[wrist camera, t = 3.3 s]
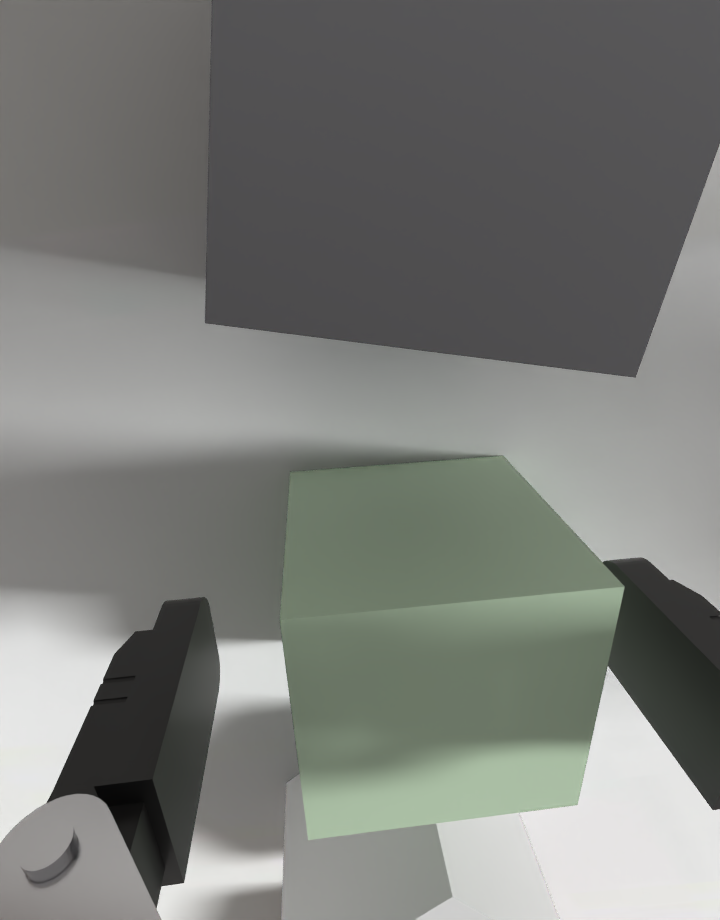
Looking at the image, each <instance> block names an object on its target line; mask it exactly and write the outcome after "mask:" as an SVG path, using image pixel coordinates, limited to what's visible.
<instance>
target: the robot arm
mask: <svg viewBox="0 0 720 920" xmlns="http://www.w3.org/2000/svg"><path fill="white" fill-rule="evenodd" d="M603 564H604V565H605V566H606V567H607V568H608V569H609V570H610V571H611V572H612V574H613V575H614V576H615V577H616V578H617V579H618V580H619V581H620V582H621V583H622V584H623V585H624V586H625V588H624V592H623V597H622V602H621V606H620V611H619V615H618V620H617V625H616V629H615V634H614V638H613V643H612V648H611V652H610V657H609V661H608V666H609V668H610V669H611V671H612V672H613V673H614V675H615V676H616V677H617V679H618V680H619V682H620V683H621V684H622V686H623V687H624V688H625V690H626V691H627V693H628V694H629V695H630V697H631V698H632V700H633V701H634V702H635V704H636V705H637V706H638V708H639V709H640V711H641V712H642V713H643V715H644V716H645V717H646V719H647V720H648V722H649V723H650V724H651V726H652V727H653V728H654V730H655V731H656V733H657V734H658V735H659V737H660V738H661V739H662V741H663V742H664V744H665V745H666V746H667V748H668V749H669V750H670V752H671V753H672V755H673V756H674V757H675V759H676V760H677V761H678V763H679V764H680V766H681V767H682V768H683V770H684V771H685V772H686V774H687V775H688V777H689V778H690V779H691V781H692V782H693V783H694V785H695V786H696V788H697V789H698V790H699V792H700V793H701V795H702V796H703V797H704V799H705V800H706V801H707V803H708V804H709V806H710V807H711V808H712V810H717V809H720V611H718V610H717V609H716V608H715V607H714V606H713V605H712V604H710V603H709V602H708V601H707V600H706V599H705V598H704V597H702V596H701V595H700V594H698V593H696V592H694V591H692V590H690V589H689V588H687V587H685V586H683V585H681V584H680V583H678V582H676V581H674V580H669V579H668V578H667V577H666V576H664V575H663V574H662V573H661V572H660V571H659V570H658V569H657V568H656V567H655V566H654V565H652V564H651V563H650V562H649V561H648V560H646V559H644V558H630V559H620V560H609V561H604V562H603ZM219 683H220V662H219V655H218V649H217V644H216V639H215V634H214V628H213V623H212V618H211V613H210V607H209V603H208V600H207V599H206V598H205V597H202V598H191V599H180V600H170V601H165V602H164V604H163V605H162V608H161V610H160V613H159V615H158V618H157V621H156V623H155V626H154V629H153V630H147V631H137V632H135V633H134V634H133V635H132V636H131V637H130V638H129V639H128V640H127V641H126V642H125V643H124V644H123V645H122V647H121V648H120V649H119V650H118V651H117V652H116V653H115V654H114V656H113V658H112V661H111V663H110V665H109V667H108V670H107V672H106V674H105V676H104V678H103V684H101V685H100V687H99V690H98V692H97V694H96V696H95V698H94V705H93V706H91V707H90V710H89V712H88V714H87V716H86V718H85V721H84V723H83V725H82V727H81V730H80V732H79V734H78V736H77V738H76V741H75V743H74V745H73V747H72V750H71V752H70V754H69V756H68V758H67V761H66V763H65V765H64V767H63V770H62V772H61V774H60V776H59V778H58V781H57V783H56V785H55V787H54V790H53V792H52V794H51V796H50V798H49V799H48V801H47V803H46V804H44V805H43V806H41V807H39V808H37V809H36V810H34V811H33V812H32V813H30V814H29V815H27V816H26V817H25V818H24V819H23V820H21V821H20V822H19V823H18V824H17V825H16V826H15V827H14V828H13V829H12V830H11V831H10V832H9V833H8V834H7V835H6V837H5V838H4V839H3V840H2V842H1V843H0V920H161V918H160V916H159V914H158V911H157V909H156V908H157V904H158V899H159V894H160V890H161V886H166V885H173V884H180V883H184V880H185V874H186V869H187V863H188V858H189V852H190V847H191V841H192V836H193V830H194V824H195V819H196V813H197V808H198V802H199V797H200V791H201V786H202V780H203V775H204V769H205V764H206V758H207V753H208V747H209V742H210V736H211V730H212V725H213V719H214V714H215V708H216V703H217V697H218V692H219Z"/></svg>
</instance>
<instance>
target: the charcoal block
mask: <svg viewBox="0 0 720 920" xmlns="http://www.w3.org/2000/svg"><path fill="white" fill-rule="evenodd" d="M719 144H720V0H212V27H211V73H210V119H209V166H208V212H207V258H206V304H205V323H208V324H216V325H224V326H232V327H240V328H248V329H256V330H264V331H271V332H279V333H287V334H295V335H303V336H311V337H319V338H327V339H335V340H343V341H351V342H358V343H366V344H374V345H382V346H390V347H398V348H406V349H414V350H422V351H430V352H438V353H446V354H453V355H461V356H469V357H477V358H485V359H493V360H501V361H509V362H517V363H525V364H533V365H540V366H548V367H556V368H564V369H572V370H580V371H588V372H596V373H604V374H612V375H620V376H628V377H636V375H637V372H638V369H639V366H640V363H641V361H642V358H643V355H644V352H645V350H646V347H647V344H648V341H649V338H650V336H651V333H652V330H653V327H654V325H655V322H656V319H657V316H658V313H659V311H660V308H661V305H662V302H663V300H664V297H665V294H666V291H667V288H668V286H669V283H670V280H671V277H672V275H673V272H674V269H675V266H676V263H677V261H678V258H679V255H680V252H681V250H682V247H683V244H684V241H685V238H686V236H687V233H688V230H689V227H690V225H691V222H692V219H693V216H694V213H695V211H696V208H697V205H698V202H699V200H700V197H701V194H702V191H703V188H704V186H705V183H706V180H707V177H708V175H709V172H710V169H711V166H712V163H713V161H714V158H715V155H716V152H717V150H718V147H719Z"/></svg>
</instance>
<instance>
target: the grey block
mask: <svg viewBox="0 0 720 920" xmlns="http://www.w3.org/2000/svg"><path fill="white" fill-rule="evenodd" d="M281 920H560V918H559V916H558V913H557V910H556V908H555V905H554V903H553V900H552V897H551V895H550V892H549V889H548V887H547V884H546V881H545V879H544V876H543V873H542V871H541V868H540V865H539V863H538V860H537V857H536V855H535V852H534V849H533V847H532V844H531V841H530V839H529V836H528V833H527V831H526V828H525V825H524V823H523V820H522V818H521V815H520V813H512V814H505V815H497V816H489V817H482V818H474V819H466V820H459V821H451V822H443V823H436V824H428V825H420V826H413V827H405V828H398V829H390V830H382V831H375V832H367V833H359V834H352V835H344V836H336V837H329V838H321V839H313V840H308V835H307V827H306V819H305V811H304V804H303V796H302V788H301V781H300V773H299V774H298V775H297V776H295V777H294V778H293V779H291V780H290V781H288V782H287V783H286V800H285V828H284V856H283V885H282V913H281Z"/></svg>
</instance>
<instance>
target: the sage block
mask: <svg viewBox="0 0 720 920" xmlns="http://www.w3.org/2000/svg"><path fill="white" fill-rule="evenodd" d="M624 588H625V586H624V585H623V584H622V583H621V582H620V581H619V580H618V579H617V578H616V577H615V576H614V575H613V574H612V572H611V571H610V570H609V569H608V568H607V567H606V566H605V565H604V564H603V563H602V562H601V561H600V560H599V558H598V557H597V556H596V555H595V554H594V553H593V552H592V551H591V550H590V549H589V548H588V547H587V546H586V544H585V543H584V542H583V541H582V540H581V539H580V538H579V537H578V536H577V535H576V534H575V533H574V532H573V530H572V529H571V528H570V527H569V526H568V525H567V524H566V523H565V522H564V521H563V520H562V519H561V518H560V516H559V515H558V514H557V513H556V512H555V511H554V510H553V509H552V508H551V507H550V506H549V505H548V504H547V502H546V501H545V500H544V499H543V498H542V497H541V496H540V495H539V494H538V493H537V492H536V491H535V490H534V488H533V487H532V486H531V485H530V484H529V483H528V482H527V481H526V480H525V479H524V478H523V477H522V476H521V474H520V473H519V472H518V471H517V470H516V469H515V468H514V467H513V466H512V465H511V464H510V463H509V462H508V460H507V459H506V458H505V457H504V456H492V457H478V458H465V459H452V460H439V461H426V462H412V463H399V464H386V465H373V466H360V467H346V468H333V469H320V470H307V471H294V472H290V481H289V495H288V510H287V524H286V538H285V552H284V566H283V580H282V594H281V608H280V627H281V634H282V642H283V650H284V657H285V665H286V673H287V681H288V688H289V696H290V704H291V711H292V719H293V727H294V734H295V742H296V750H297V758H298V765H299V773H300V781H301V788H302V796H303V804H304V811H305V819H306V827H307V835H308V840H313V839H321V838H329V837H336V836H344V835H352V834H359V833H367V832H375V831H382V830H390V829H398V828H405V827H413V826H420V825H428V824H436V823H443V822H451V821H459V820H466V819H474V818H482V817H489V816H497V815H505V814H512V813H520V812H528V811H535V810H543V809H551V808H558V807H566V806H573V805H577V804H578V800H579V795H580V791H581V786H582V781H583V777H584V772H585V768H586V763H587V758H588V754H589V749H590V745H591V740H592V735H593V731H594V726H595V721H596V717H597V712H598V708H599V703H600V698H601V694H602V689H603V685H604V680H605V675H606V671H607V666H608V661H609V657H610V652H611V648H612V643H613V638H614V634H615V629H616V625H617V620H618V615H619V611H620V606H621V602H622V597H623V592H624Z"/></svg>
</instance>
